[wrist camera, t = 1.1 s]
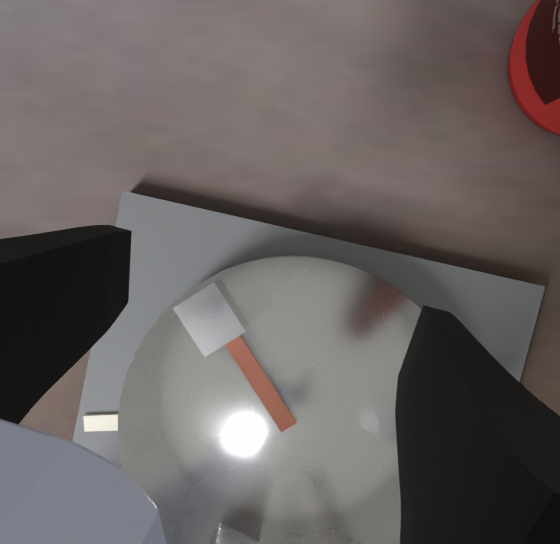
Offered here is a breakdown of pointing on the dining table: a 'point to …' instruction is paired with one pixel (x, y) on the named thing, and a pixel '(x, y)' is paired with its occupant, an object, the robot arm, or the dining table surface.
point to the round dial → (271, 406)
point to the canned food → (538, 65)
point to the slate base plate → (267, 243)
